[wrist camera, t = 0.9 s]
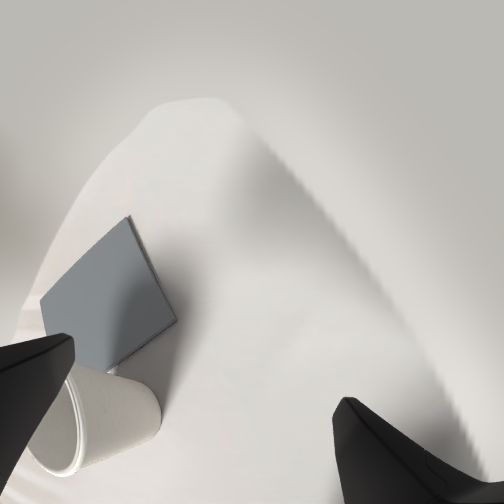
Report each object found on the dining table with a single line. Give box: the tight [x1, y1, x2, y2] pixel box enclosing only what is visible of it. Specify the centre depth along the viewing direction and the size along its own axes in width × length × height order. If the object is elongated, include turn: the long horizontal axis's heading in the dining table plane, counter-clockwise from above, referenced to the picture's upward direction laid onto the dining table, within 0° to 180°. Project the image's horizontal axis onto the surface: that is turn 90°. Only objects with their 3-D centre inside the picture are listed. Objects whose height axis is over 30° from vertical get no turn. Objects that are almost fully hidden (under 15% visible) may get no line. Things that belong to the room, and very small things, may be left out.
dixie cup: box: [26, 363, 161, 477], centre depth 15 cm, size 8×8×10 cm
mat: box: [40, 217, 177, 373], centre depth 25 cm, size 13×16×1 cm
